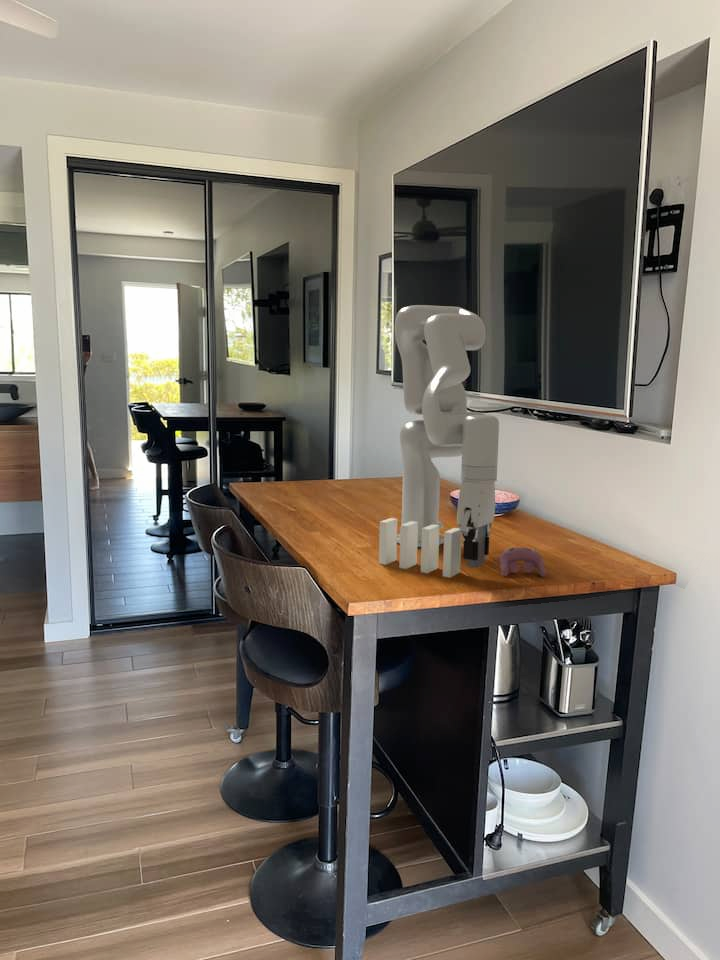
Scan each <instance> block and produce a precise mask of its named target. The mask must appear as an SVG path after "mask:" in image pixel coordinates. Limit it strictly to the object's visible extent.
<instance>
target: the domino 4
mask: <svg viewBox="0 0 720 960" xmlns="http://www.w3.org/2000/svg"><path fill="white" fill-rule="evenodd" d="M462 536H463V535H462V532H461V531H460V527H452V528H451V529H448V530H446V531H444V533H443V538H444V542H443V557H442V558H443V559H442V562H443V563H442V564H443V565H442V577H445V578H452V577H454V576H456V575H457V574H460V572H461V559H462V558H461V556H462V555H461V554H462Z"/></svg>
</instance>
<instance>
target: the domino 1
mask: <svg viewBox="0 0 720 960" xmlns="http://www.w3.org/2000/svg"><path fill="white" fill-rule="evenodd" d="M378 533H379V536H378V537H379V538H378V539H379V541H378V542H379V543H378V544H379V545H378V547H379V548H378V565H384V566H386V565H389V564H392V563H393V562H395V561H397V557H398V555H397V554H398V551H397V550H398V548H397V545H398V543H397V534H398V518H394V517H390V518H386V519H383V520H380V521H379V532H378Z"/></svg>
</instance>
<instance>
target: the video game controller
mask: <svg viewBox="0 0 720 960" xmlns="http://www.w3.org/2000/svg"><path fill="white" fill-rule="evenodd" d="M498 559H499V566H500V567H499V568H500V572H501V574H502V576H503V577H504V576H505V577H504V578H507V576H508V575H509V574H508V573H511V574H516V573H518V572H519V571H520V565H519V564H518V562H520V561H521V562H523V565H522V567H521V568H522V571H523V573H524V574H531V573H532V572H533V571H534V568H536V570H537V572H538V574H539V576H540V577H542V578H544V577H545V576H546V567H545V564H544V561H543V557H542V554H541V553H540V552H538V550H536V549H533V548H532V549H531V548H528V547H512V548H507V549H505V550H503V552H501V553H500V554H499V556H498Z"/></svg>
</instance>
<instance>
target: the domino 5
mask: <svg viewBox="0 0 720 960" xmlns="http://www.w3.org/2000/svg"><path fill="white" fill-rule="evenodd" d="M473 525H474V524H469V526H470V527H474V526H473ZM469 531H472V533H474V530H470V529H469ZM485 537H486V525H485V526H483V527H480V528H479V529H478V536H477V542H479V543H478V560H476V561H474V560H468V559H466V561H467V563H466V565H467V566H466V567H467V568H468V567H469V568H473V569H474V568H478V567H479V566H481V565H484V563H485V559H486V555H485Z"/></svg>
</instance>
